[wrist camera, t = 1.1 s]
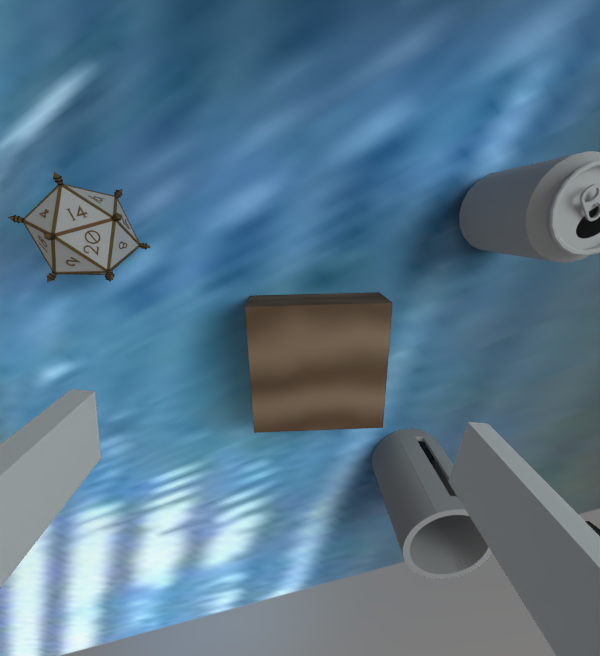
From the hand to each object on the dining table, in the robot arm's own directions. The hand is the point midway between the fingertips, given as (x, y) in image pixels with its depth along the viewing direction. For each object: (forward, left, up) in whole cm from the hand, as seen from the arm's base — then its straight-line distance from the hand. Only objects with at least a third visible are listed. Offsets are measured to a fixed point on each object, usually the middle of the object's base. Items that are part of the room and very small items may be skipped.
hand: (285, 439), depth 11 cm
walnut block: (+6, +4, -25) cm, 26 cm away
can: (-12, +19, -25) cm, 33 cm away
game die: (-4, -18, -24) cm, 30 cm away
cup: (+19, +19, -25) cm, 37 cm away
